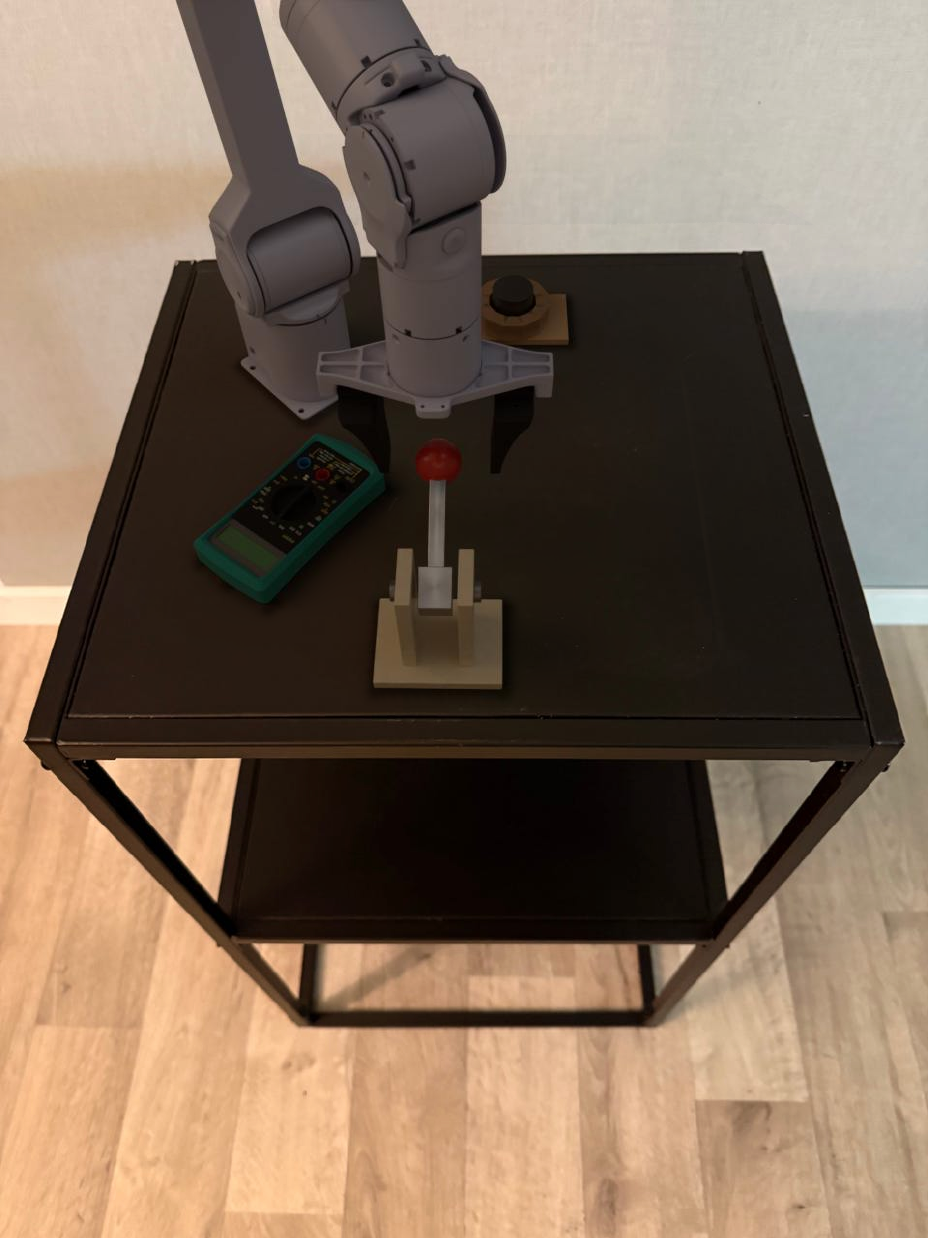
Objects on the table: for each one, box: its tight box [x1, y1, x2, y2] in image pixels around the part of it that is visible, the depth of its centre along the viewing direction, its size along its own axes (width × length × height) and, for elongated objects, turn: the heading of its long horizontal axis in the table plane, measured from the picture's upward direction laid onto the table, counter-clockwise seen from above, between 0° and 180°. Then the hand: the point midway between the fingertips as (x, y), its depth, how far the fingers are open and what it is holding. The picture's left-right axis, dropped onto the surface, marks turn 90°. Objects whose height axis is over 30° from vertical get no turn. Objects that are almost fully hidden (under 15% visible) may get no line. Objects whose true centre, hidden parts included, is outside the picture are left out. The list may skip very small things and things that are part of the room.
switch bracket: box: [372, 548, 503, 690], centre depth 64 cm, size 7×9×9 cm
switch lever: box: [414, 437, 463, 616], centre depth 63 cm, size 12×3×3 cm, turn 179°
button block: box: [481, 277, 570, 346], centre depth 85 cm, size 10×6×2 cm, turn 89°
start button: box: [492, 274, 534, 317], centre depth 83 cm, size 4×4×2 cm
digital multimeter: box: [193, 433, 386, 605], centre depth 73 cm, size 7×15×3 cm, turn 142°
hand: (440, 462), depth 66 cm, fingers open, 7 cm apart
